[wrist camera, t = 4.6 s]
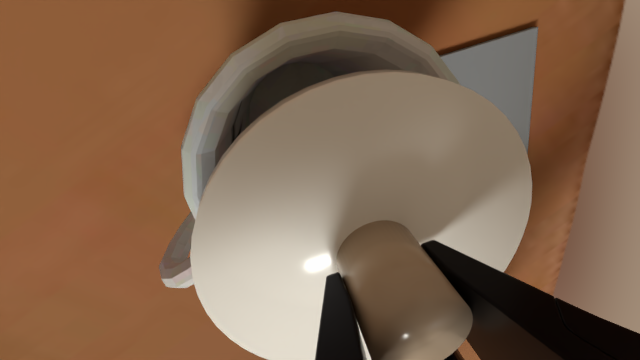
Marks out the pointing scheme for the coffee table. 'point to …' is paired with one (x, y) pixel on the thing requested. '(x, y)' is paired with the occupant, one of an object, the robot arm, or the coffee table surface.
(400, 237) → the lid
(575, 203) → the coffee table surface
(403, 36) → the mug
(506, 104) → the mat
